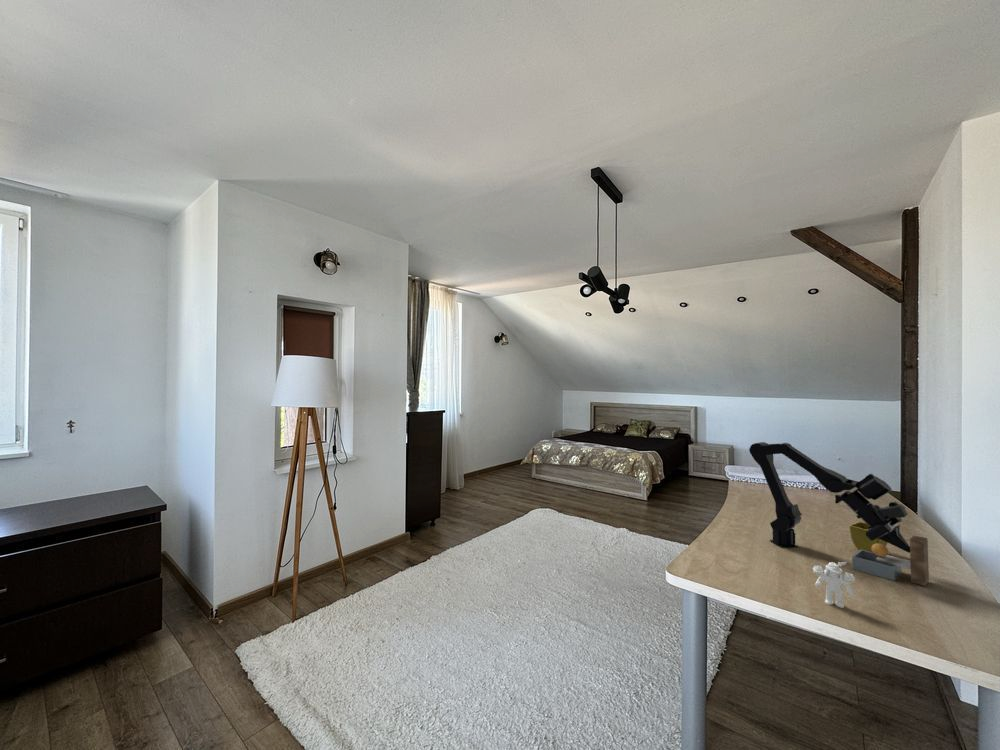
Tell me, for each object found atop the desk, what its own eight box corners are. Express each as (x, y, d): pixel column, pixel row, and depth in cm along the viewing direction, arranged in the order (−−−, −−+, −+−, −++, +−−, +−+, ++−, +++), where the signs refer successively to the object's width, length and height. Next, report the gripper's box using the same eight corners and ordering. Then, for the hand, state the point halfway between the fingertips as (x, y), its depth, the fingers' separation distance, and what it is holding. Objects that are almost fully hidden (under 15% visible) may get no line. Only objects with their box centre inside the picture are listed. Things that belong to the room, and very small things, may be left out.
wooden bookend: (876, 572, 127) (875, 532, 128) (881, 567, 131) (880, 528, 131) (925, 586, 118) (923, 542, 119) (929, 580, 122) (927, 538, 123)
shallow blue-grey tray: (852, 568, 131) (852, 556, 131) (860, 561, 136) (860, 549, 137) (894, 580, 122) (894, 567, 123) (901, 572, 128) (901, 559, 128)
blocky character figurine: (855, 606, 108) (854, 562, 108) (856, 612, 105) (854, 567, 105) (813, 595, 114) (812, 553, 114) (812, 600, 111) (811, 557, 111)
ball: (886, 555, 126) (871, 546, 129) (881, 561, 128) (867, 552, 131) (892, 547, 127) (877, 538, 130) (888, 553, 129) (873, 544, 132)
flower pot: (880, 558, 139) (879, 532, 139) (849, 549, 146) (848, 525, 147) (890, 553, 143) (889, 528, 143) (860, 545, 150) (859, 521, 151)
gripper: (878, 499, 123) (931, 546, 113) (892, 490, 134) (942, 532, 124) (846, 517, 129) (894, 564, 119) (862, 507, 140) (907, 549, 130)
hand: (910, 551), depth 123 cm, fingers closed, pressing on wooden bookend
